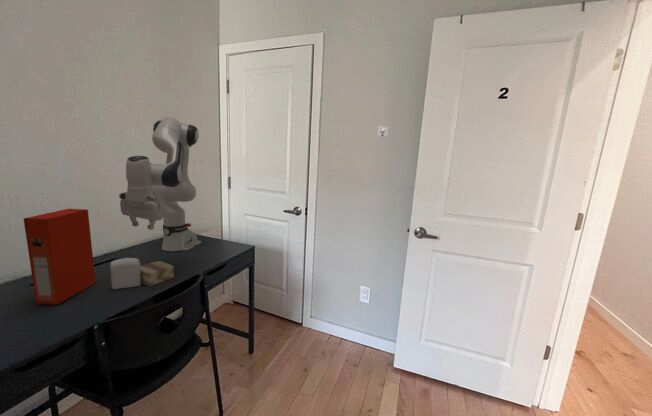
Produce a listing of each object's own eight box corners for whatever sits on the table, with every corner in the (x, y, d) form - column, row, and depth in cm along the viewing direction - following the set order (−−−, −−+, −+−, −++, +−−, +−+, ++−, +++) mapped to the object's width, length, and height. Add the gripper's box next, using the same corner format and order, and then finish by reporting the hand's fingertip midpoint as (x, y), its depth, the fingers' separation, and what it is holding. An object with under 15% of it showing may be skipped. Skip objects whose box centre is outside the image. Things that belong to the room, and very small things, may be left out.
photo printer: (110, 290, 113) (108, 261, 111) (112, 286, 117) (110, 258, 115) (140, 286, 118) (139, 259, 116) (142, 282, 122) (140, 255, 119)
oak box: (159, 272, 133) (159, 260, 132) (174, 278, 128) (173, 266, 127) (135, 280, 123) (134, 267, 122) (149, 287, 118) (149, 274, 117)
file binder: (35, 304, 101) (23, 217, 95) (75, 282, 118) (67, 208, 112) (58, 305, 101) (47, 219, 95) (95, 283, 118) (88, 209, 112)
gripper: (166, 197, 116) (168, 229, 118) (130, 192, 122) (133, 222, 125) (152, 199, 110) (154, 233, 113) (115, 194, 116) (118, 225, 119)
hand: (143, 227), depth 119 cm, fingers open, 7 cm apart
